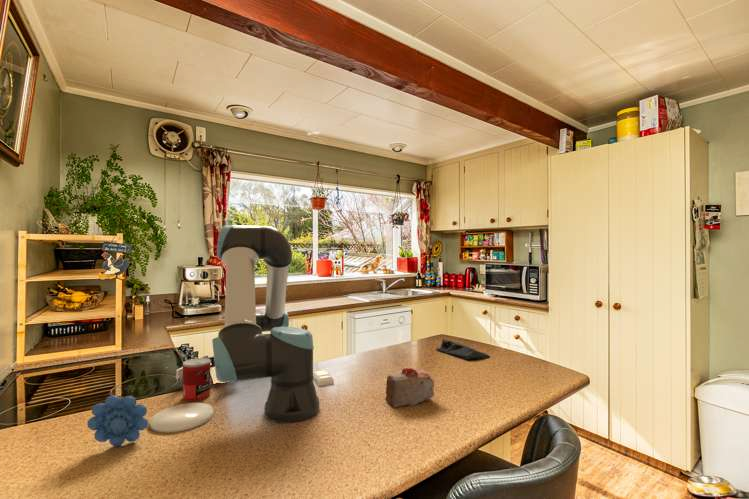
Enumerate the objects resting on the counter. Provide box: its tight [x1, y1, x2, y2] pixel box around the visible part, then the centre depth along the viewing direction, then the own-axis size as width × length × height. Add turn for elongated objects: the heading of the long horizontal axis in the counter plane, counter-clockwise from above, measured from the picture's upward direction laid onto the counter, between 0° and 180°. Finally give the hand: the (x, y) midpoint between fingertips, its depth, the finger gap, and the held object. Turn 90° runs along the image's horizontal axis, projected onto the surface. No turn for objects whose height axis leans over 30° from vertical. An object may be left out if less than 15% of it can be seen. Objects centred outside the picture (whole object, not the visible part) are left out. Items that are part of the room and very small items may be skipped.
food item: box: [385, 367, 435, 408], centre depth 108 cm, size 14×8×10 cm, turn 116°
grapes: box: [87, 394, 149, 447], centre depth 83 cm, size 12×7×12 cm, turn 122°
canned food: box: [182, 357, 211, 402], centre depth 113 cm, size 8×8×11 cm
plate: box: [149, 402, 214, 434], centre depth 97 cm, size 15×15×1 cm
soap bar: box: [313, 370, 335, 387], centre depth 126 cm, size 5×9×3 cm, turn 25°
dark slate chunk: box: [435, 338, 490, 360], centre depth 160 cm, size 15×22×5 cm
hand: (197, 374), depth 114 cm, fingers open, 13 cm apart
